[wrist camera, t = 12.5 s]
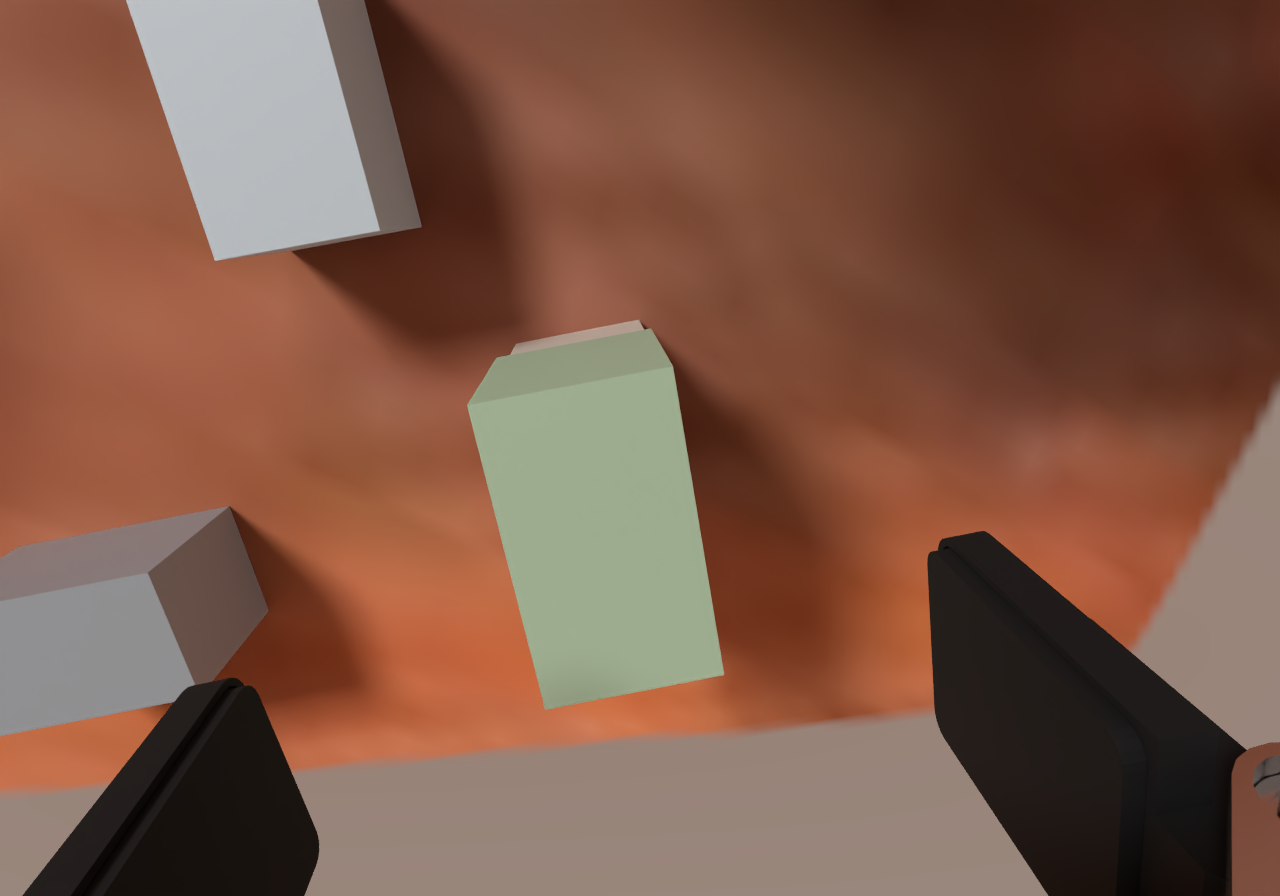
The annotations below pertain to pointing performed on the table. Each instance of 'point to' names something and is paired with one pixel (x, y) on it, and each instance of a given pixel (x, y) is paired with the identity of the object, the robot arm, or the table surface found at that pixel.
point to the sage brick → (598, 516)
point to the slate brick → (121, 617)
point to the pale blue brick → (278, 120)
